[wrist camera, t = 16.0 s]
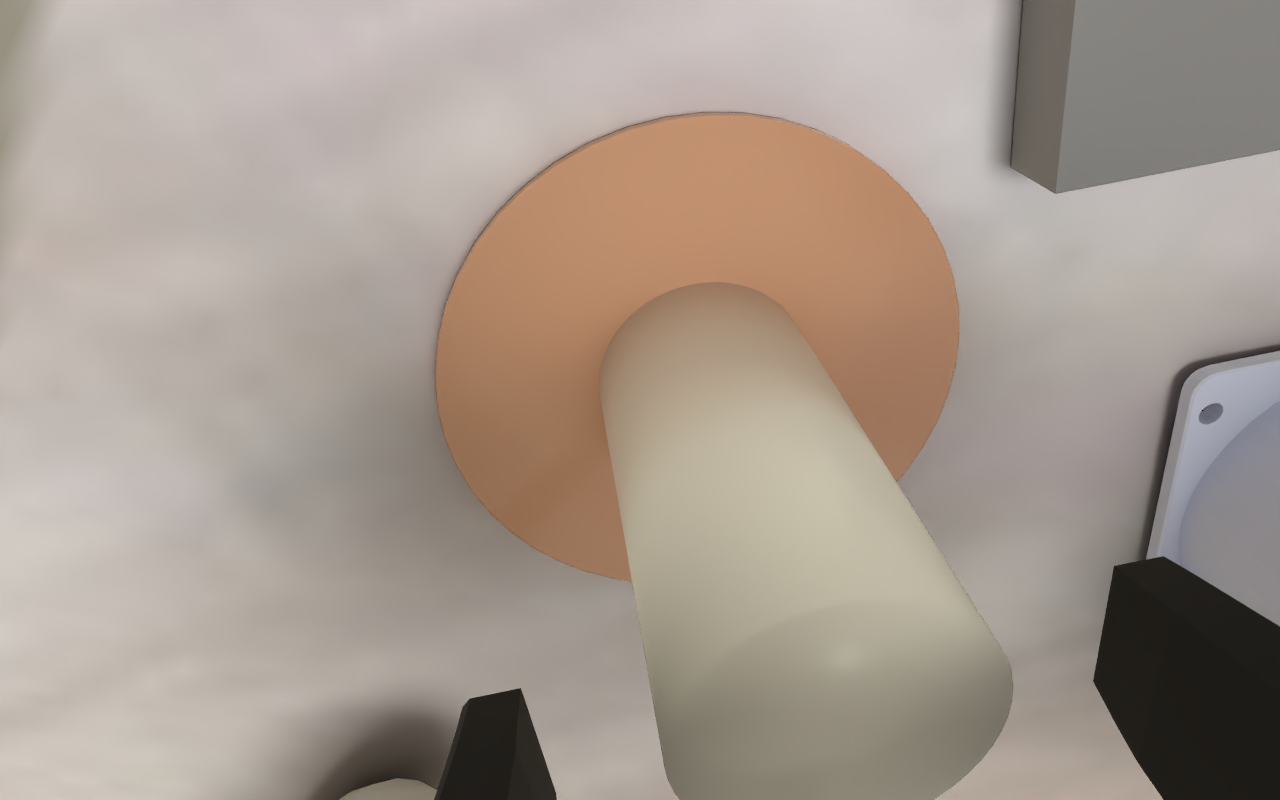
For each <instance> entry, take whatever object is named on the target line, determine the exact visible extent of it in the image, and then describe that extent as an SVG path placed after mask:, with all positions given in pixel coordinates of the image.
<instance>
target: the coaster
mask: <svg viewBox="0 0 1280 800" xmlns="http://www.w3.org/2000/svg"><path fill="white" fill-rule="evenodd" d="M707 282H722V283H731V284H737V285H741V286H745V287H748V288H752V289H754V290H756V291H758V292H761V293H763V294H765V295H766V296H768V297H770V298H771V299H773V300H774V301H776V302H777V303H778V304H779V305H780V306H782V307H783V308H784V309H785V310H786V311H787V313H788V314H789V315H790V316H791V317H792V318H793V320H794V322H795V323H796V325H797V326H798V328H799V329H800V331H801V333H802V334H803V336H804V337H805V339H806V340H807V342H808V344H809V345H810V347H811V348H812V350H813V352H814V353H815V355H816V356H817V358H818V359H819V361H820V363H821V364H822V366H823V367H824V369H825V370H826V372H827V374H828V375H829V377H830V378H831V380H832V381H833V383H834V385H835V386H836V388H837V389H838V391H839V393H840V394H841V396H842V397H843V399H844V400H845V402H846V404H847V405H848V407H849V408H850V410H851V411H852V413H853V415H854V416H855V418H856V419H857V421H858V423H859V424H860V426H861V427H862V429H863V430H864V432H865V434H866V435H867V437H868V438H869V440H870V441H871V443H872V445H873V446H874V448H875V449H876V451H877V452H878V454H879V456H880V457H881V459H882V460H883V462H884V464H885V465H886V467H887V468H888V470H889V471H890V473H891V475H892V476H893V478H894V479H895V481H896V482H897V481H898V479H899V478H900V477H901V476H902V475H903V474H904V473H905V472H906V470H907V469H908V467H909V466H910V465H911V463H912V462H913V460H914V459H915V457H916V456H917V455H918V453H919V452H920V450H921V449H922V448H923V446H924V444H925V442H926V440H927V439H928V437H929V435H930V433H931V431H932V430H933V428H934V426H935V424H936V422H937V420H938V418H939V415H940V413H941V410H942V408H943V405H944V403H945V400H946V398H947V395H948V392H949V389H950V385H951V381H952V377H953V373H954V369H955V366H956V358H957V349H958V341H959V310H958V301H957V295H956V289H955V284H954V278H953V274H952V271H951V268H950V265H949V262H948V259H947V257H946V254H945V251H944V248H943V246H942V244H941V242H940V240H939V238H938V236H937V234H936V233H935V231H934V229H933V227H932V225H931V223H930V221H929V219H928V218H927V217H926V215H925V214H924V213H923V212H922V210H921V209H920V208H919V206H918V205H917V204H916V202H915V201H914V200H913V198H912V197H911V196H910V195H909V193H908V192H907V191H906V190H904V189H903V188H902V187H901V186H900V185H899V184H898V183H897V182H896V181H895V180H894V179H893V178H892V177H891V176H890V175H889V174H888V173H887V172H885V171H884V170H883V169H882V168H881V167H879V166H878V165H877V164H876V163H874V162H873V161H871V160H870V159H868V158H867V157H865V156H864V155H862V154H861V153H859V152H858V151H857V150H855V149H854V148H852V147H851V146H849V145H848V144H846V143H843V142H841V141H839V140H837V139H835V138H833V137H831V136H829V135H827V134H825V133H823V132H821V131H818V130H816V129H813V128H810V127H807V126H803V125H800V124H797V123H794V122H790V121H787V120H784V119H780V118H774V117H767V116H761V115H754V114H748V113H720V112H703V113H695V114H687V115H679V116H670V117H664V118H660V119H656V120H653V121H649V122H645V123H641V124H637V125H633V126H629V127H626V128H624V129H621V130H619V131H616V132H614V133H611V134H609V135H606V136H604V137H602V138H599V139H597V140H594V141H592V142H590V143H588V144H586V145H584V146H582V147H581V148H579V149H577V150H575V151H574V152H572V153H570V154H568V155H567V156H565V157H563V158H561V159H560V160H558V161H556V162H555V163H553V164H552V165H551V166H549V167H548V168H547V169H545V170H544V171H543V172H541V173H540V174H539V175H538V176H536V177H535V178H534V179H532V180H531V181H530V182H528V183H527V184H526V185H524V186H523V187H522V188H521V189H520V190H519V191H518V192H517V193H516V194H515V195H514V196H513V197H512V198H511V199H510V200H509V201H508V202H507V203H506V204H505V205H504V206H503V207H502V208H501V209H500V210H499V211H498V212H497V214H496V215H495V216H494V218H493V219H492V220H491V222H490V223H489V224H488V226H487V227H486V228H485V229H484V231H483V232H482V233H481V235H480V236H479V237H478V239H477V240H476V241H475V243H474V245H473V247H472V248H471V250H470V252H469V254H468V256H467V257H466V259H465V261H464V263H463V264H462V266H461V268H460V270H459V272H458V274H457V277H456V279H455V282H454V284H453V287H452V290H451V292H450V295H449V297H448V300H447V303H446V306H445V311H444V315H443V320H442V324H441V329H440V333H439V338H438V345H437V359H436V374H435V381H436V393H437V404H438V412H439V416H440V420H441V424H442V428H443V432H444V436H445V439H446V442H447V444H448V446H449V449H450V451H451V454H452V456H453V458H454V461H455V463H456V466H457V467H458V469H459V471H460V472H461V474H462V476H463V477H464V479H465V480H466V482H467V484H468V485H469V487H470V489H471V490H472V492H473V493H474V494H475V495H476V496H477V498H478V499H479V500H480V501H481V502H482V504H483V505H484V506H485V507H486V509H487V510H488V511H489V512H490V513H491V514H492V515H493V516H494V517H495V518H496V519H497V520H499V521H500V522H501V523H502V524H503V525H504V526H505V527H506V528H507V529H508V530H509V531H511V532H512V533H513V534H515V535H516V536H518V537H519V538H520V539H522V540H523V541H525V542H526V543H528V544H529V545H530V546H532V547H533V548H535V549H537V550H539V551H541V552H543V553H545V554H546V555H548V556H550V557H552V558H554V559H556V560H558V561H560V562H563V563H565V564H568V565H570V566H573V567H576V568H578V569H581V570H583V571H586V572H590V573H594V574H598V575H602V576H605V577H609V578H613V579H620V580H626V581H632V578H631V572H630V567H629V561H628V555H627V549H626V544H625V538H624V532H623V526H622V521H621V515H620V509H619V503H618V498H617V492H616V486H615V480H614V475H613V469H612V463H611V457H610V452H609V446H608V440H607V434H606V429H605V423H604V417H603V411H602V406H601V400H600V391H599V378H600V370H601V365H602V361H603V358H604V355H605V353H606V350H607V348H608V346H609V344H610V342H611V340H612V338H613V337H614V335H615V334H616V332H617V331H618V330H619V328H620V327H621V326H622V324H623V323H624V322H625V321H626V320H627V319H628V318H629V317H630V316H631V315H632V314H633V313H634V312H636V311H637V310H638V309H639V308H640V307H642V306H643V305H645V304H646V303H648V302H649V301H651V300H652V299H654V298H656V297H658V296H660V295H662V294H664V293H666V292H668V291H671V290H674V289H677V288H680V287H683V286H688V285H692V284H697V283H707Z"/></svg>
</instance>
